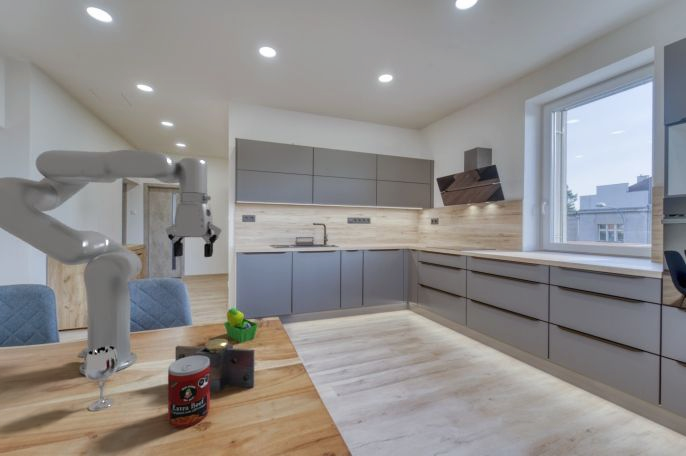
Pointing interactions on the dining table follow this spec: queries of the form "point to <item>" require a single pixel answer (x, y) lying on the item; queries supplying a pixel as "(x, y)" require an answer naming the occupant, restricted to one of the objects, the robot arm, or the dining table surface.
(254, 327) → the fruit basket
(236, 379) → the hinge leaf
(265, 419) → the dining table surface
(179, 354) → the hinge leaf
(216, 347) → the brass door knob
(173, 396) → the canned food
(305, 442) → the dining table surface
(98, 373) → the wineglass
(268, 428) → the dining table surface
